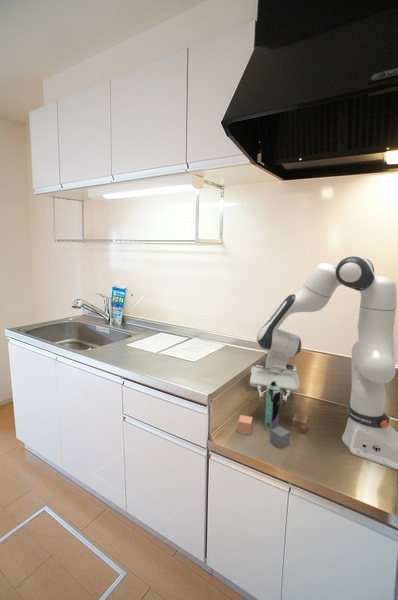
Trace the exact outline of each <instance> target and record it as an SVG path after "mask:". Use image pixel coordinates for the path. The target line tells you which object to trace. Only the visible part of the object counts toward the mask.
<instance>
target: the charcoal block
mask: <svg viewBox="0 0 398 600" xmlns="http://www.w3.org/2000/svg"><path fill="white" fill-rule="evenodd" d="M290 434H291V432H290V431H288V430H287V429H285V428H283V427H282V426H280V425H278V427H276V428H274V429H272V430H270V433H269V436H270V437H269V443H271V444H272V445H273V446H274V447H275V446H276V448H279V450H281V449H283V448H285V447H287V446H288V445H289V444H290V436H291V435H290Z"/></svg>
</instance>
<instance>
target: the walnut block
mask: <svg viewBox="0 0 398 600" xmlns="http://www.w3.org/2000/svg"><path fill="white" fill-rule="evenodd" d="M308 421H309V417H308V416H306V415H305V416H304V415H301V414H297V413H295V415H294V416H293V419H292V428H291V431H292V432H295V433H299V434H302V435H306V433H307V430H308V424H309V422H308Z"/></svg>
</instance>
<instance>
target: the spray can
mask: <svg viewBox="0 0 398 600" xmlns="http://www.w3.org/2000/svg"><path fill="white" fill-rule="evenodd" d="M265 391H266V393H265V394H266V395H265V413H264V414H265V415H264V428H265V429H266V430H268V431H271V430H272V429H274V428H276V427H278V426H279V422H280V420H279V418H280V405H281V404H280V403H281V390H280V387H279V386H278V385H277V384H276V381H272V383H271V384H270V385H268V386H267V388H266V390H265Z"/></svg>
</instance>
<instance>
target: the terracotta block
mask: <svg viewBox="0 0 398 600" xmlns="http://www.w3.org/2000/svg"><path fill="white" fill-rule="evenodd" d="M237 423H238V424H237V425H238V427H237V432H238V434H243V435H249V436H251V434H252V431H253V430H252V429H253V416H247V415H242V414H241V415H239V419H238V422H237Z"/></svg>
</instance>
